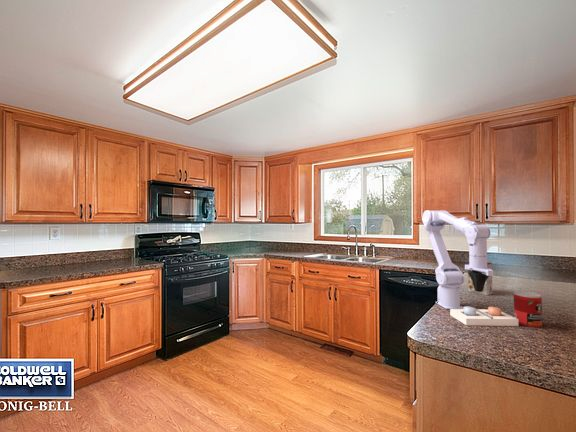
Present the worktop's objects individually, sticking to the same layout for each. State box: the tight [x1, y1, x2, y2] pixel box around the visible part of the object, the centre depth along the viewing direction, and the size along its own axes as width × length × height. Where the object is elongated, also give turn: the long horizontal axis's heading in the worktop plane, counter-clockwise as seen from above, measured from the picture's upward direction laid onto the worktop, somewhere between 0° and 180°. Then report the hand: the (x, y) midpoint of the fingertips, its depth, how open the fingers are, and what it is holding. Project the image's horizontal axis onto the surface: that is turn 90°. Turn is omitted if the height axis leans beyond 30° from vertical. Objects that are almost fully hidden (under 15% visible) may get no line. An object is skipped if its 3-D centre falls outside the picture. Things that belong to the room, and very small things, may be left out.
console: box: [449, 308, 520, 327], centre depth 106 cm, size 11×18×3 cm, turn 87°
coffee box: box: [467, 261, 493, 296], centre depth 146 cm, size 9×6×16 cm
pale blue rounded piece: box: [463, 305, 477, 316], centre depth 106 cm, size 4×4×4 cm
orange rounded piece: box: [487, 306, 502, 316], centre depth 105 cm, size 4×4×4 cm
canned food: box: [513, 290, 543, 328], centre depth 102 cm, size 8×8×11 cm
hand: (478, 291), depth 108 cm, fingers closed
